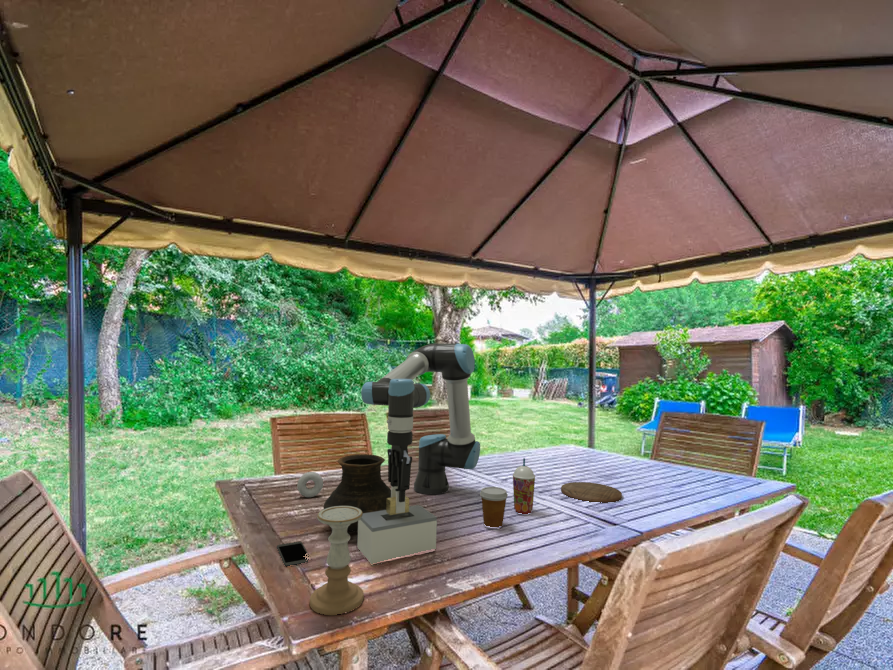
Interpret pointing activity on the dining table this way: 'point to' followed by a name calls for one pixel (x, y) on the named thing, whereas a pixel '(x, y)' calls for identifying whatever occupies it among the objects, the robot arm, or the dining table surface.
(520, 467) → the smoothie
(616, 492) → the trivet
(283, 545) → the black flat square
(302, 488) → the donut
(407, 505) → the yellow rectangular block
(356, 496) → the ceramic pot
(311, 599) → the candle holder
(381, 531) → the box
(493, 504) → the disposable coffee cup
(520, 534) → the dining table surface
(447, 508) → the dining table surface
